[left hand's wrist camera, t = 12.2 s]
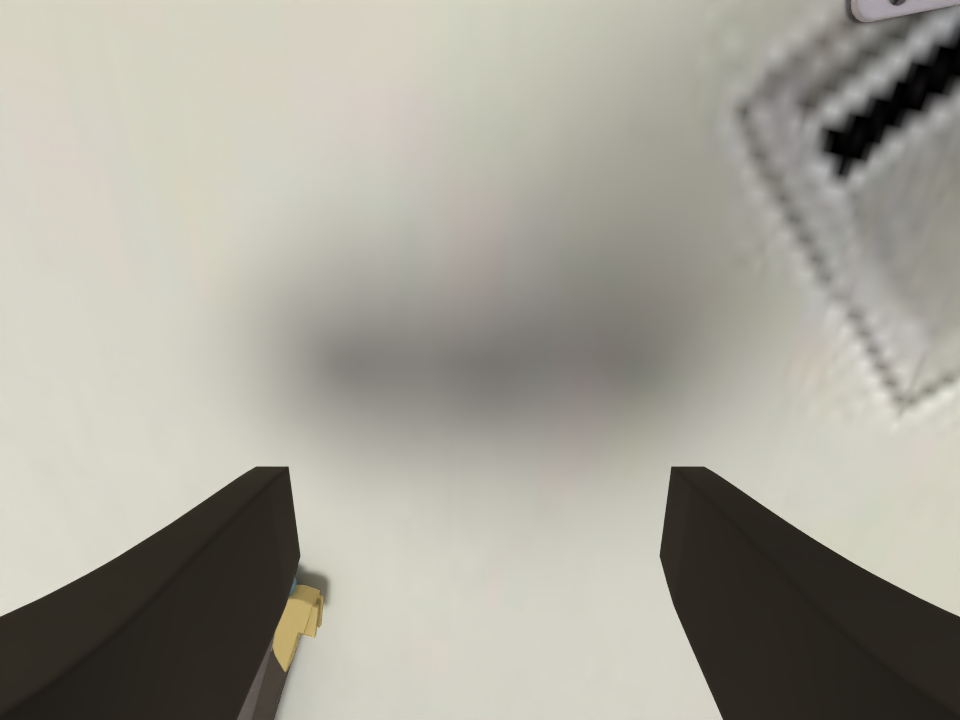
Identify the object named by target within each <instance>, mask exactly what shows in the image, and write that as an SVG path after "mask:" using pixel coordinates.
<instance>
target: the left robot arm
mask: <svg viewBox="0 0 960 720" xmlns="http://www.w3.org/2000/svg"><path fill="white" fill-rule="evenodd" d="M959 4H960V0H898V2H897V3H896V4H895V5H893V4H891V3H890V1H889V0H851V9H852V13H853V15H854V16H855V18H856V19H858V20H859V21H861V22H873V21H878V20H883V19H888V18H893V17H899V16H904V15H909V14H914V13H919V12H924V11H929V10H934V9H939V8H944V7H949V6H954V5H959ZM299 559H300V549H299V542H298V534H297V527H296V519H295V512H294V504H293V497H292V489H291V482H290V474H289V467H255V468H253V469H251V470H250V471H248V472H246V473H245V474H243V475H242V476H240V477H238V478H237V479H235V480H234V481H232V482H231V483H230V484H228V485H227V486H225V487H224V488H222V489H221V490H219V491H218V492H216V493H215V494H214V495H212V496H211V497H209V498H208V499H206V500H205V501H203V502H202V503H200V504H199V505H198V506H196V507H195V508H193V509H192V510H190V511H189V512H187V513H186V514H184V515H183V516H181V517H180V518H178V519H177V520H175V521H174V522H172V523H171V524H169V525H168V526H166V527H165V528H163V529H161V530H160V531H158V532H157V533H155V534H154V535H152V536H150V537H149V538H147V539H146V540H144V541H142V542H141V543H139V544H138V545H136V546H134V547H133V548H131V549H130V550H128V551H126V552H125V553H123V554H122V555H120V556H118V557H117V558H115V559H113V560H111V561H110V562H108V563H106V564H105V565H103V566H101V567H99V568H97V569H96V570H94V571H92V572H90V573H88V574H87V575H85V576H83V577H81V578H79V579H77V580H75V581H73V582H71V583H70V584H68V585H66V586H64V587H62V588H60V589H58V590H56V591H54V592H52V593H50V594H48V595H46V596H44V597H42V598H40V599H38V600H36V601H34V602H32V603H29V604H27V605H25V606H23V607H21V608H18V609H16V610H14V611H12V612H10V613H8V614H5V615H3V616H1V617H0V720H237V718H238V716H239V714H240V711H241V709H242V707H243V704H244V702H245V700H246V698H247V695H248V693H249V691H250V688H251V686H252V684H253V681H254V679H255V677H256V675H257V672H258V670H259V668H260V665H261V663H262V661H263V659H264V656H265V654H266V652H267V649H268V647H269V645H270V643H271V640H272V638H273V636H274V633H275V631H276V629H277V626H278V624H279V622H280V619H281V617H282V614H283V612H284V610H285V607H286V605H287V601H288V598H289V595H290V591H291V588H292V585H293V581H294V577H295V574H296V570H297V566H298V563H299ZM660 559H661V563H662V566H663V570H664V574H665V577H666V581H667V585H668V588H669V591H670V595H671V598H672V601H673V605H674V607H675V610H676V612H677V614H678V617H679V619H680V622H681V624H682V626H683V629H684V631H685V633H686V636H687V638H688V640H689V643H690V645H691V647H692V649H693V652H694V654H695V656H696V659H697V661H698V663H699V665H700V668H701V670H702V672H703V675H704V677H705V679H706V681H707V684H708V686H709V688H710V691H711V693H712V695H713V698H714V700H715V702H716V704H717V707H718V709H719V711H720V714H721V716H722V718H723V720H960V617H959V616H957V615H954V614H952V613H950V612H948V611H945V610H943V609H941V608H939V607H937V606H935V605H933V604H931V603H929V602H927V601H924V600H922V599H920V598H918V597H916V596H914V595H912V594H910V593H909V592H907V591H905V590H903V589H901V588H899V587H897V586H895V585H893V584H891V583H889V582H887V581H885V580H884V579H882V578H880V577H878V576H876V575H874V574H872V573H870V572H868V571H867V570H865V569H863V568H861V567H860V566H858V565H856V564H854V563H852V562H851V561H849V560H847V559H846V558H844V557H842V556H841V555H839V554H837V553H836V552H834V551H832V550H831V549H829V548H827V547H826V546H824V545H822V544H821V543H819V542H817V541H816V540H814V539H813V538H811V537H810V536H808V535H806V534H805V533H803V532H802V531H800V530H799V529H797V528H796V527H794V526H793V525H791V524H789V523H788V522H786V521H785V520H783V519H782V518H780V517H779V516H777V515H776V514H775V513H773V512H772V511H770V510H769V509H767V508H766V507H764V506H763V505H761V504H760V503H758V502H757V501H755V500H754V499H753V498H751V497H750V496H748V495H747V494H745V493H744V492H742V491H741V490H740V489H738V488H737V487H735V486H734V485H732V484H731V483H729V482H728V481H726V480H725V479H723V478H722V477H720V476H719V475H717V474H716V473H714V472H712V471H711V470H709V469H707V468H706V467H671V474H670V482H669V489H668V497H667V504H666V512H665V519H664V527H663V534H662V542H661V549H660Z"/></svg>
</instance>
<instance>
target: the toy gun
mask: <svg viewBox="0 0 960 720" xmlns="http://www.w3.org/2000/svg"><path fill="white" fill-rule="evenodd" d="M323 602H324V596H322V595H320V590H318V589H315V588H313V587H310V586H306V585H297V582H296V578H295V577H294V581H293V585H292V588H291V591H290V595H289V598H288V601H287V605H286V607H285V610H284V612H283V614H282V617H281V619H280V622H279V624H278V626H277V629H276V631H275V633H274V636H273V638H272V640H271V643H270V645H269V647H268V649H267V652H266V654H265V656H264V659H263V661H262V663H261V665H260V668H259V670H258V672H257V675H256V677H255V679H254V681H253V684H252V686H251V688H250V691H249V693H248V695H247V698H246V700H245V702H244V704H243V707H242V709H241V711H240V714H239V716H238V718H237V720H274V717H275V714H276V710H277V707H278V704H279V700H280V697H281V693H282V690H283V687H284V683H285V680H286V677H287V674H288V671H289V667H290V664H291V662H292V660H293V657H294V655H295V652H296V649H297V646H298V642H299V639H300V636H301V633H302V634H305V635H308V636H311V637H315V636H316V630H317V627H319V628H320V626H321V621H322V611H323Z"/></svg>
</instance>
